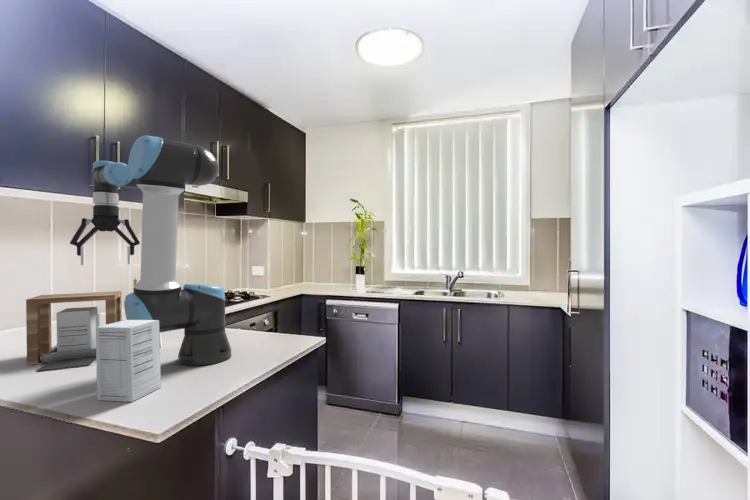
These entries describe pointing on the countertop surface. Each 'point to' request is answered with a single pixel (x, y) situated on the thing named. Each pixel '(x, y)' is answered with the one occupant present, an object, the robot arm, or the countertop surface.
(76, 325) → the supplement box
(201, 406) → the countertop surface
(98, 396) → the supplement box
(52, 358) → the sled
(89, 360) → the dark grey flat block
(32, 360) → the bridge
